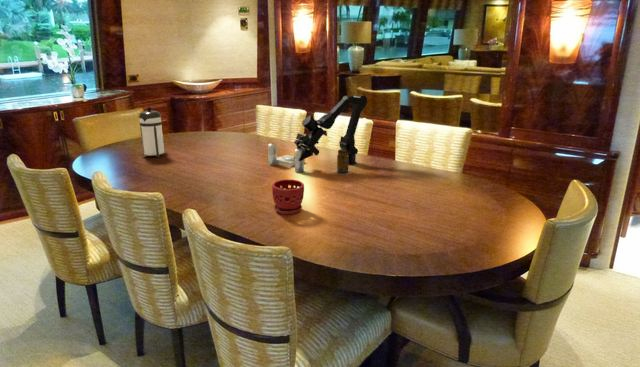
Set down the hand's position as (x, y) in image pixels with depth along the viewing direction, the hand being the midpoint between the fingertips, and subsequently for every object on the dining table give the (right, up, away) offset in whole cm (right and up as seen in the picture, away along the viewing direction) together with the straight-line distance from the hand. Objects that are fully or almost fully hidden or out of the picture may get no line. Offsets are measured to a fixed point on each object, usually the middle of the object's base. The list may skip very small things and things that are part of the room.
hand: (296, 159), depth 248 cm
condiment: (+25, -7, +2) cm, 26 cm away
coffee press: (-89, +4, +38) cm, 97 cm away
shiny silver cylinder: (+1, -6, +3) cm, 7 cm away
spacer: (-14, -2, +16) cm, 22 cm away
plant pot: (-1, -24, -54) cm, 59 cm away
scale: (-6, -1, +20) cm, 21 cm away
